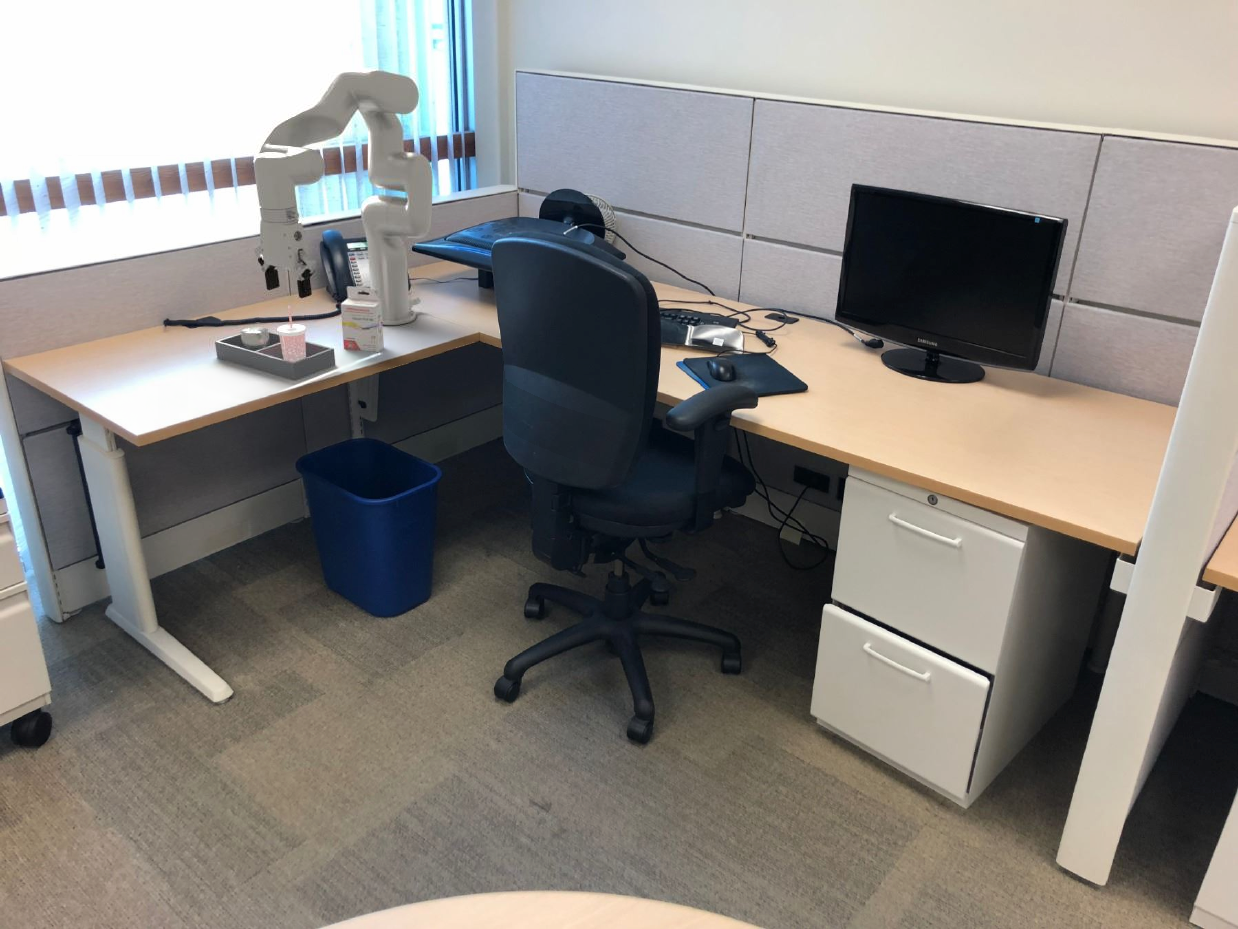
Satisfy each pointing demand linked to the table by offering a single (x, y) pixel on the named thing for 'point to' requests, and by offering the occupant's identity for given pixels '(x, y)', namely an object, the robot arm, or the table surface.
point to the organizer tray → (276, 357)
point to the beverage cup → (292, 340)
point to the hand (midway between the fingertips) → (289, 292)
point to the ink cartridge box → (362, 320)
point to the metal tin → (255, 338)
